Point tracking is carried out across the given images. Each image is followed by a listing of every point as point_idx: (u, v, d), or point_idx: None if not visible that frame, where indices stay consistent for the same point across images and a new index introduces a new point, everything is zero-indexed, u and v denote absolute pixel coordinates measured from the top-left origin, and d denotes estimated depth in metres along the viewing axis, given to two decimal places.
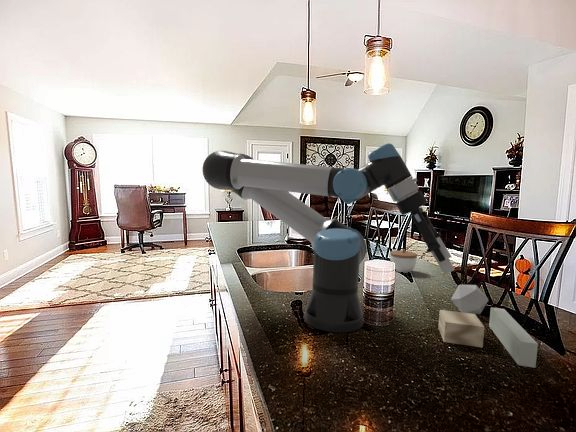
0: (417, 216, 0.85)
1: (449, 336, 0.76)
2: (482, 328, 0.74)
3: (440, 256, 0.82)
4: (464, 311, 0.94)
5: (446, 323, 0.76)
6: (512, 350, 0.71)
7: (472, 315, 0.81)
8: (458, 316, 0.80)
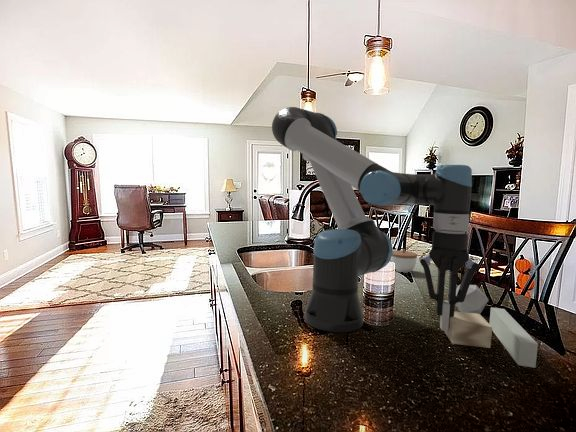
0: None
1: (457, 337, 0.76)
2: (490, 328, 0.74)
3: (436, 308, 0.80)
4: (464, 311, 0.94)
5: (454, 324, 0.76)
6: (512, 350, 0.71)
7: (477, 315, 0.81)
8: (464, 316, 0.80)
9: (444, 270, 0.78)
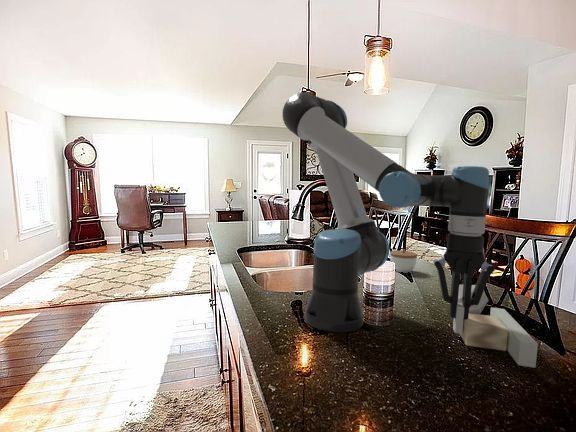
0: None
1: (471, 339, 0.75)
2: (506, 331, 0.73)
3: (450, 311, 0.80)
4: None
5: (469, 326, 0.75)
6: (512, 350, 0.71)
7: (493, 318, 0.80)
8: (479, 318, 0.79)
9: (459, 273, 0.77)
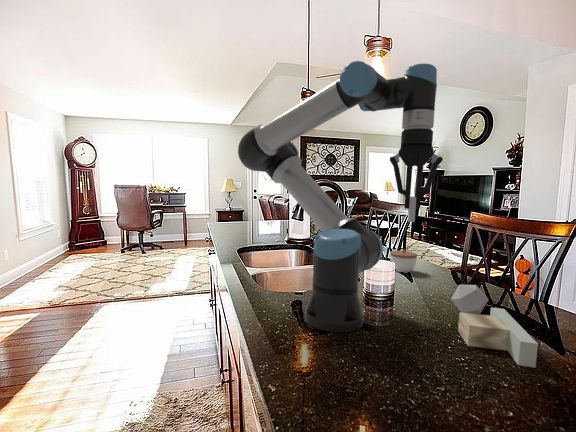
0: (390, 160, 0.87)
1: (473, 340, 0.75)
2: (507, 331, 0.73)
3: None
4: (464, 311, 0.94)
5: (470, 326, 0.75)
6: (512, 350, 0.71)
7: (493, 317, 0.80)
8: (480, 318, 0.79)
9: (411, 164, 0.84)
